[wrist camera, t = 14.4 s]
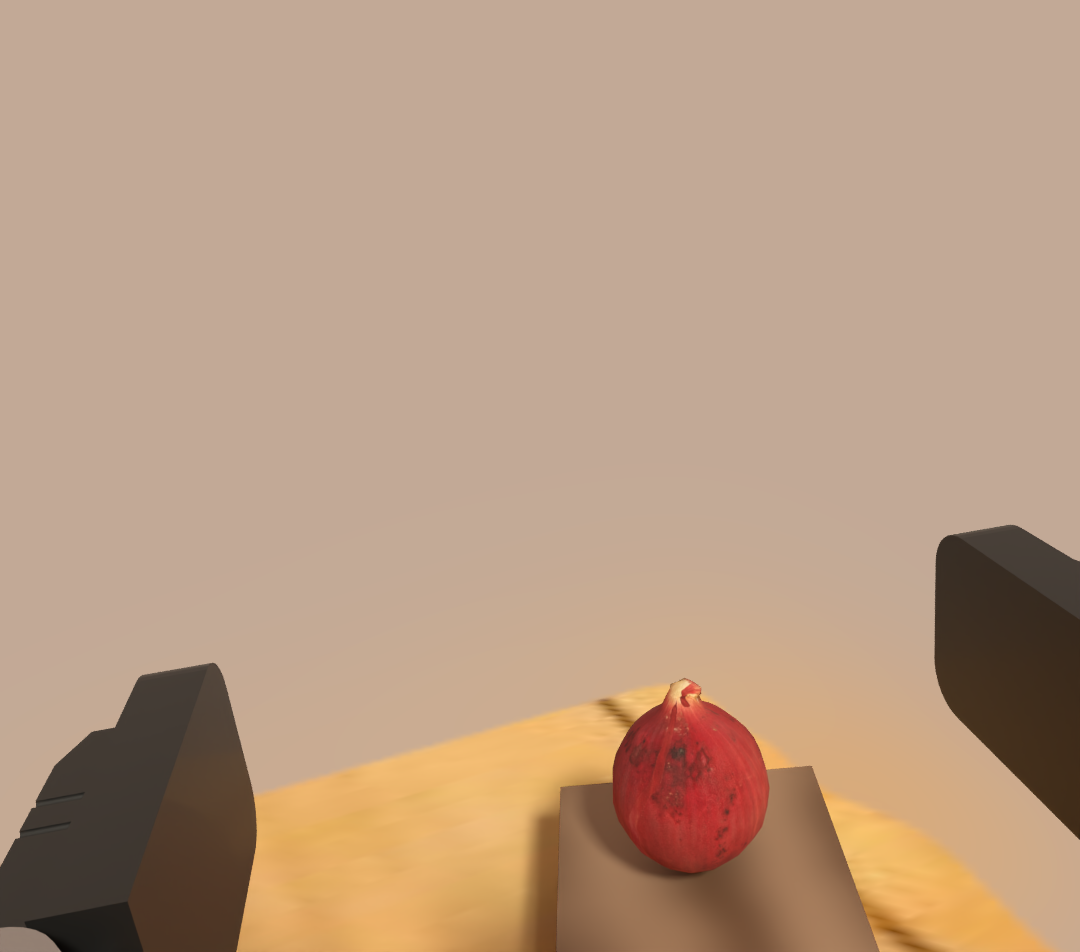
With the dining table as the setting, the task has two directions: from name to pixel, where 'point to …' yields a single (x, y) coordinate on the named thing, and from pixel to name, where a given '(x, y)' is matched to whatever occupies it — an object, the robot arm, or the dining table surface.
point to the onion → (689, 783)
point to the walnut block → (709, 883)
